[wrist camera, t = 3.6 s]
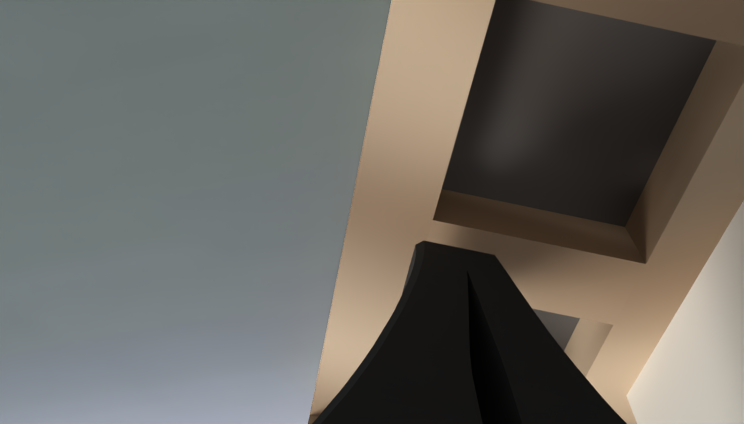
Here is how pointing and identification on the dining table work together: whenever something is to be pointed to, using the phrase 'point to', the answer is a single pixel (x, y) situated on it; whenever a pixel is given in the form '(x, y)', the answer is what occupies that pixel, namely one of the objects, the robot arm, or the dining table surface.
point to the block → (701, 347)
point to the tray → (548, 167)
